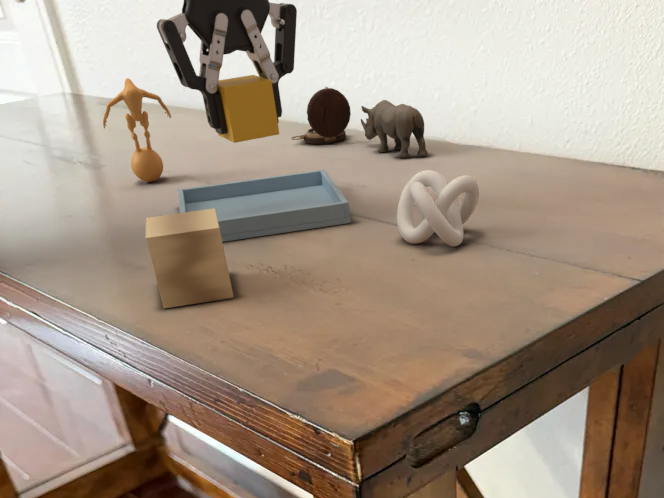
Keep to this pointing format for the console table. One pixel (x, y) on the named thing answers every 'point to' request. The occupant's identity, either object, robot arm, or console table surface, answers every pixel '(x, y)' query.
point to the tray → (270, 204)
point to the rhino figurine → (395, 126)
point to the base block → (188, 258)
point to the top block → (248, 108)
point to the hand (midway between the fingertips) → (247, 127)
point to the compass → (327, 117)
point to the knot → (436, 207)
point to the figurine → (144, 159)
